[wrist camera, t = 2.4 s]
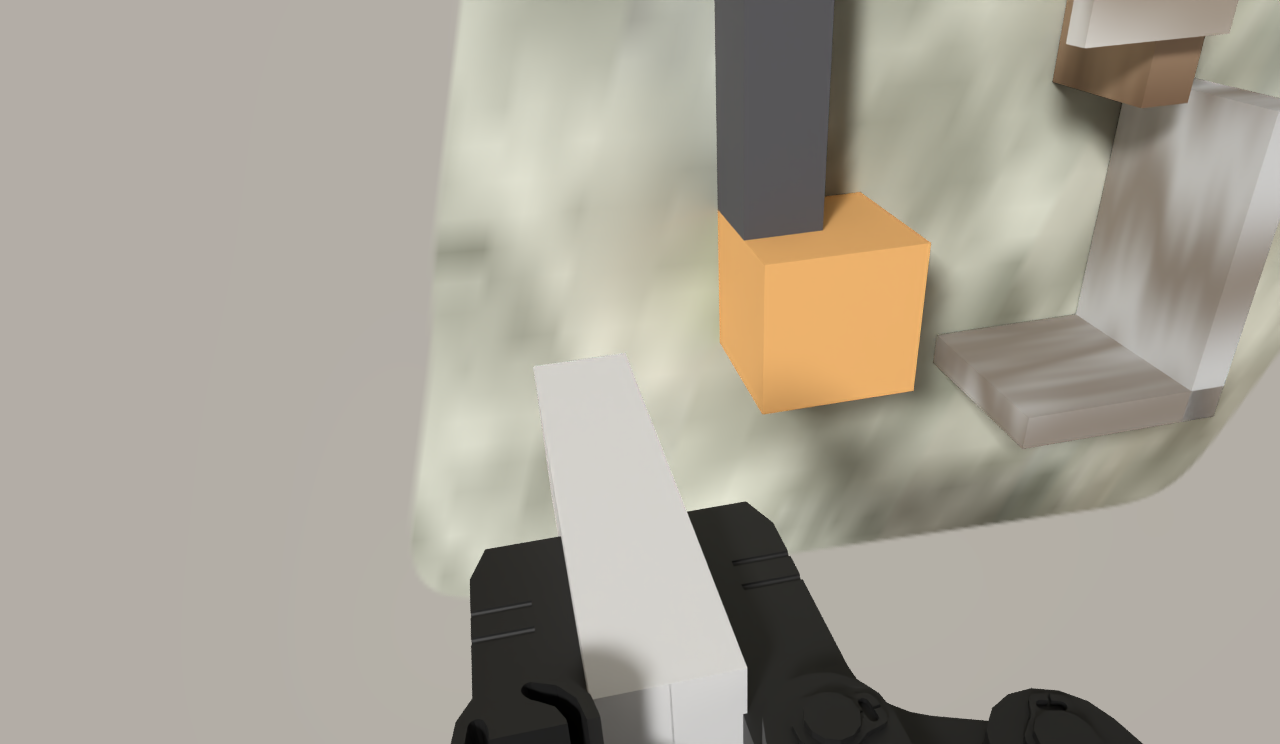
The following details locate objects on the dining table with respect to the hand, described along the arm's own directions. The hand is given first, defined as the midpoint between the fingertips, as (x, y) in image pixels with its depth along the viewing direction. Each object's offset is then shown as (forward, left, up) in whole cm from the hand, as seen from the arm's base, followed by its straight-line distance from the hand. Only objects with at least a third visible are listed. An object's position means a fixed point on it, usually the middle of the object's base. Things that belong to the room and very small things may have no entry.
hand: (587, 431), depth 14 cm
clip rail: (-2, +18, -14) cm, 23 cm away
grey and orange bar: (-3, +9, -14) cm, 17 cm away
